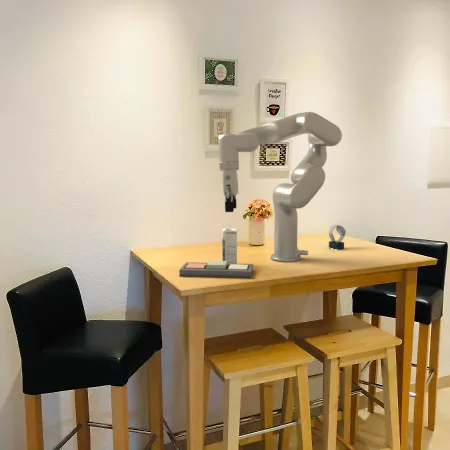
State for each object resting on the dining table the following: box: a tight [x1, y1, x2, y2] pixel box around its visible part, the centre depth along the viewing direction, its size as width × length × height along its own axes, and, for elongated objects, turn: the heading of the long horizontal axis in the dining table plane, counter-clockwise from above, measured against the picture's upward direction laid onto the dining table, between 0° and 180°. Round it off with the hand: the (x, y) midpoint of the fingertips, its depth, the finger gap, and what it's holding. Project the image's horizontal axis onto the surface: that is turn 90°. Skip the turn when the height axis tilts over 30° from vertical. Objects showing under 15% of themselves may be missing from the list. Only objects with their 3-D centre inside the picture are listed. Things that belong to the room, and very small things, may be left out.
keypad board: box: [178, 261, 254, 279], centre depth 185 cm, size 26×12×2 cm, turn 82°
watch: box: [328, 224, 347, 250], centre depth 228 cm, size 6×8×11 cm
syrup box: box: [221, 227, 238, 264], centre depth 197 cm, size 6×6×14 cm
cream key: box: [228, 263, 248, 270], centre depth 184 cm, size 7×7×2 cm
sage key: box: [206, 260, 227, 269], centre depth 185 cm, size 7×7×2 cm
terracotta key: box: [185, 262, 206, 269], centre depth 186 cm, size 7×7×2 cm
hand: (231, 210), depth 195 cm, fingers open, 9 cm apart
